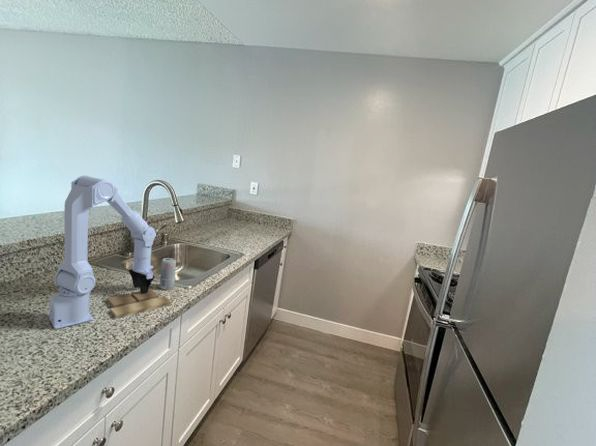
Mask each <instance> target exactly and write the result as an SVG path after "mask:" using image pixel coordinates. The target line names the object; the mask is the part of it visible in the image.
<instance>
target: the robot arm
mask: <svg viewBox="0 0 596 446" xmlns="http://www.w3.org/2000/svg"><path fill="white" fill-rule="evenodd" d="M70 184H71V185H70V187H71V189H70V191H69V193H68V195H67V197H66V199H65V201H64V254H63V255H64V260H63V262H62V263H60V264H59V265H57V272H56V274H55V275H54V279H53V280H54V284H55V285H56V286H57V287H58V291H59V292H57V293H55V294H53V295H50V296H49V316H48V318H49V319H48V320H49V321H50V323H51V325H52V326H53V328H54V329H55V330H57V329H62V328H67V327H70V326H73V325H74V326H75V325H80V324H82V323H86V322H90V321H94V317H93V315H92V314H90V294H91V292H92V290H93V289H94V288H95V285H96V283H97V282H96V281H97V280H96V277H95V275H94V269H93V268H92V266H91V264H90V263H89V262H88V251H89V250H88V246H89V245H88V242H89V240H88V239H89V211H90V210H92V208H93V207H96V206H98V205H100V204H103V203H104V202H106V203H108V204H109V205H110V206H111V207H112V208H113V210H115V211H116V212H117V213H118V214H119V215H120V217H121V219H120V220H121V222H122V223H123V224H124V226H125V227H126V228H127V229H128V230H129V231H130V236H131V237H132V238H134V245H133V246H134V247H133V250H134V251H133V261H131V263H130V266H131V268H130V269H129V270H128V273H129V275H130V277H131V280H132V286H133V288H134V289H137V288H139V291H140V292H141V294H144V293H147V292H148V289H150V287H151V284H152V283H153V281H154V279H155V275H154V273H153V271H152V269H154V266H153V265H151V262H152V261H151V260H152V246H153V244H154V240H155V239H156V236H157V233H156V230H155V229H154V227H152V226H150V225H148V222H147V221H145V220H144V218H143V217H142V216H141V215H142V214H141V212H140V211H137V210H134V209H133V210H132V208H131V207H129V205H128V203H126V201H125V200H124V198H123V197H122V196H121V194H120V193H119V189H118V187H116V186H115V185H114V183H113V182H112V181H111V180H108V179H104V178H97V177H94V176H93V177H92V176H89V175H81V176H79V177H77V178H76V179H74V180H73V181H71V183H70Z"/></svg>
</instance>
